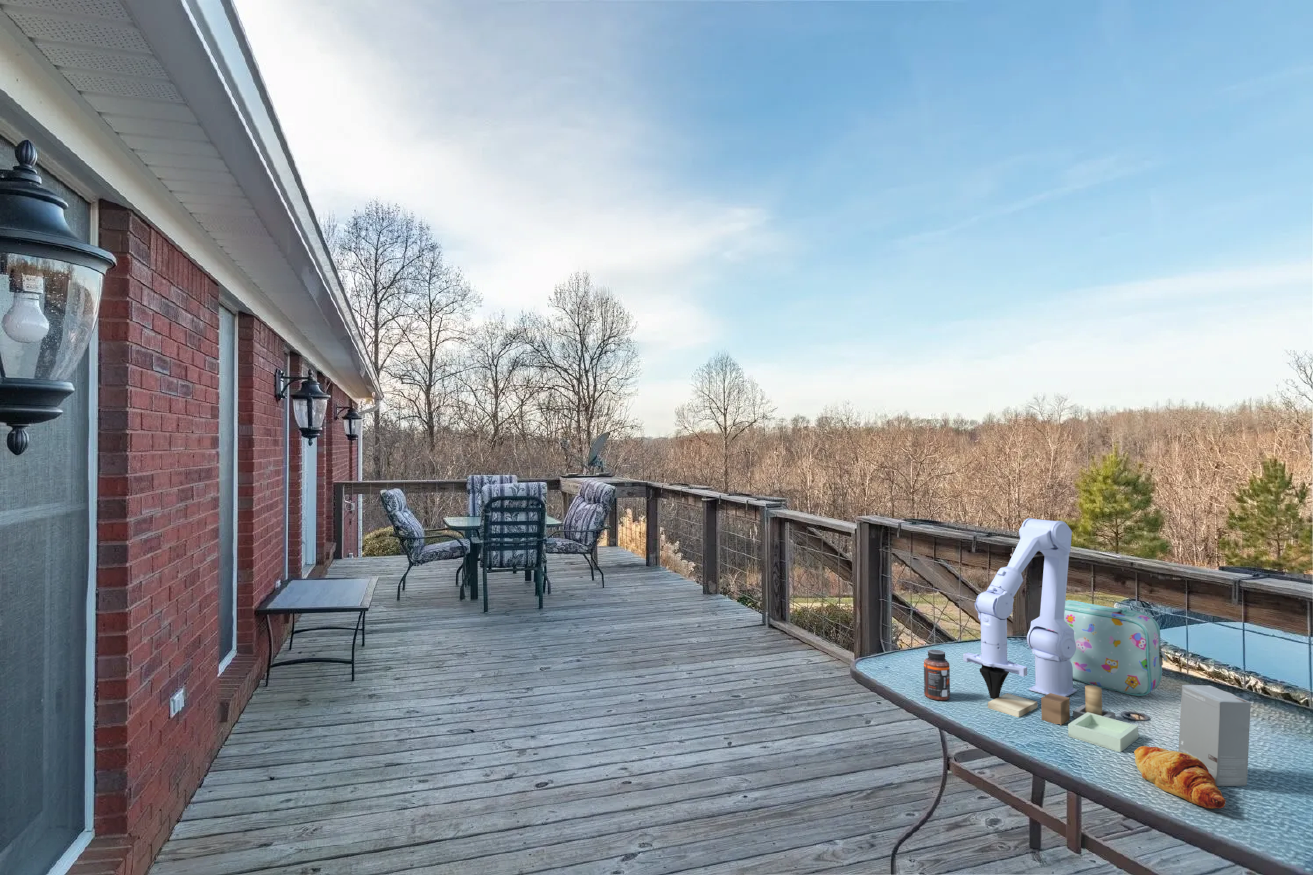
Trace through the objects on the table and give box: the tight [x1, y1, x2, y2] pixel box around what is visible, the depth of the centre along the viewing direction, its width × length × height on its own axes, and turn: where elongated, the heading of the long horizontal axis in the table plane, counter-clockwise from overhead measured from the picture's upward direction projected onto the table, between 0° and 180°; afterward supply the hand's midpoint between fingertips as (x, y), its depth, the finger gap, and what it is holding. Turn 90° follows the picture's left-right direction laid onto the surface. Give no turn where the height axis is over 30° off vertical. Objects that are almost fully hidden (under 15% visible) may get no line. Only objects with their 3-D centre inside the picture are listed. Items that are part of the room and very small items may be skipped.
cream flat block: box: [987, 693, 1039, 718], centre depth 155 cm, size 10×7×2 cm
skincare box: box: [1177, 684, 1252, 787], centre depth 122 cm, size 8×7×16 cm
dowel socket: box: [1072, 704, 1116, 720], centre depth 148 cm, size 6×6×2 cm
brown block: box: [1040, 693, 1071, 726], centre depth 147 cm, size 5×4×5 cm
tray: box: [1067, 712, 1139, 753], centre depth 138 cm, size 11×10×3 cm
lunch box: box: [1045, 599, 1168, 697], centre depth 171 cm, size 27×10×21 cm, turn 34°
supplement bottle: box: [923, 649, 951, 702], centre depth 162 cm, size 6×6×11 cm
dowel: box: [1084, 684, 1103, 716], centre depth 148 cm, size 3×3×7 cm
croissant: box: [1133, 745, 1227, 809], centre depth 118 cm, size 21×10×8 cm, turn 176°
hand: (994, 697), depth 158 cm, fingers closed
